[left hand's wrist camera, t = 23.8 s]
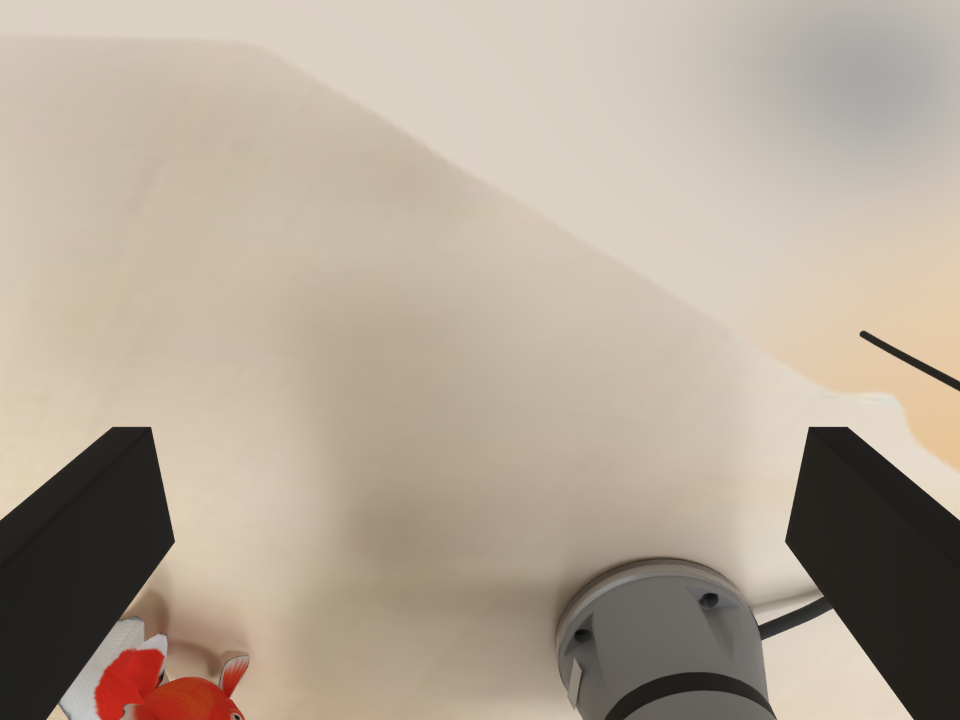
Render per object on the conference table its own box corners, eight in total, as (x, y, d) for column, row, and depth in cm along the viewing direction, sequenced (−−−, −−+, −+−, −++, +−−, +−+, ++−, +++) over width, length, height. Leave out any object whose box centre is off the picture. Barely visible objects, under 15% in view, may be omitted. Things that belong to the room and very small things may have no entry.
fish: (199, 803, 49) (112, 884, 39) (80, 652, 52) (-28, 692, 42) (295, 698, 50) (233, 752, 40) (172, 555, 53) (87, 573, 43)
